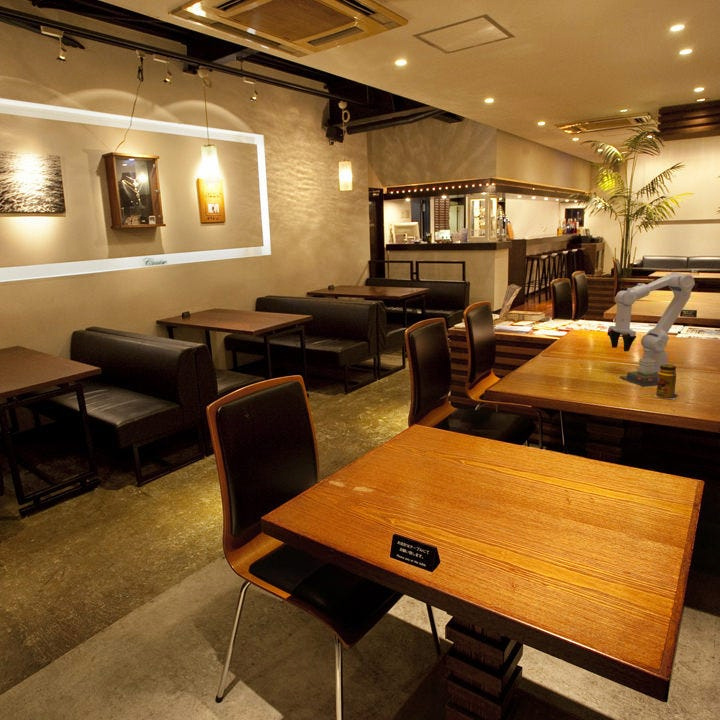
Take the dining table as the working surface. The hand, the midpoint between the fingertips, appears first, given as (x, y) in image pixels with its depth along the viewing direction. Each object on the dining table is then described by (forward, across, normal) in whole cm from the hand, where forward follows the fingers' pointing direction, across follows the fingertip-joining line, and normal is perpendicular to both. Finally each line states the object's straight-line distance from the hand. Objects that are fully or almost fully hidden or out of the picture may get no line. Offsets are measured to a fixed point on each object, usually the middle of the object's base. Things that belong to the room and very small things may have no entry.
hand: (620, 349), depth 240 cm
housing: (+10, +15, +1) cm, 18 cm away
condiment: (+11, +34, -6) cm, 36 cm away
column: (+8, +15, +1) cm, 17 cm away
